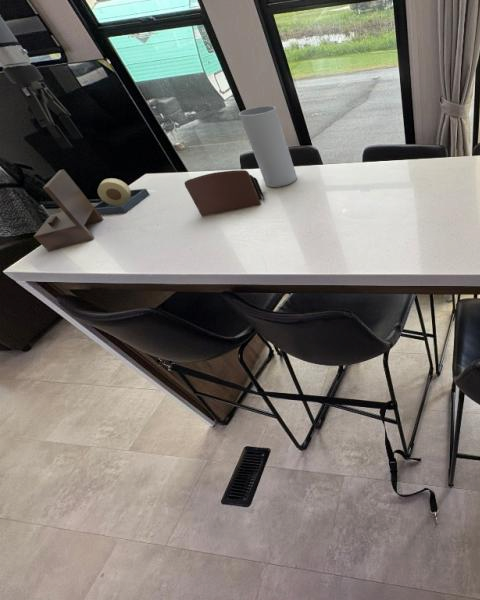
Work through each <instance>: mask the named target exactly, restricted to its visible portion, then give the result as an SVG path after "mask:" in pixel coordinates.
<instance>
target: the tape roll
mask: <svg viewBox="0 0 480 600" xmlns="http://www.w3.org/2000/svg"><path fill="white" fill-rule="evenodd" d="M131 190H132V189H131V188H130V186H129V185H128V184H127V183H126V182H124V181H123V180H121V179H118V178H113V177H110V178H105V179H103V180H102V181H101V182H100V183H99V185H98V188H97V194H98V197H99V198H100V199H101V201H104V202H106V203H108V204H110V205H114V206H121V205H123V204H124V203H125V202H127V201H128V200H129V199H130V196H131Z"/></svg>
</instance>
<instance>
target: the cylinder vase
mask: <svg viewBox="0 0 480 600" xmlns="http://www.w3.org/2000/svg"><path fill="white" fill-rule="evenodd" d="M238 116H239V118H240V121H241V123H242V127H243V129H244V131H245V134H246V136H247V140H248V142H249V144H250V147H251V150H252V152H253V155H254V158H255V160H256V163H257V166H258V168H259V171H260V174H261V176H262V179H263V181H264V184H265V185H266V186H268V187H269V188H280V187H286V186H289V185H291V184H293V183H295V181H296V180H297V177H298V176H297V172H296V169H295V166H294V163H293V159H292V156H291V153H290V150H289V147H288V143H287V140H286V137H285V134H284V129H283V126H282V124H281V121H280V117H279V114H278V111H277V107H276V106H274V105H264V106H263V105H262V106H256V107H251V108H248V109H244V110H242V111H240V112H239V113H238Z"/></svg>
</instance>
